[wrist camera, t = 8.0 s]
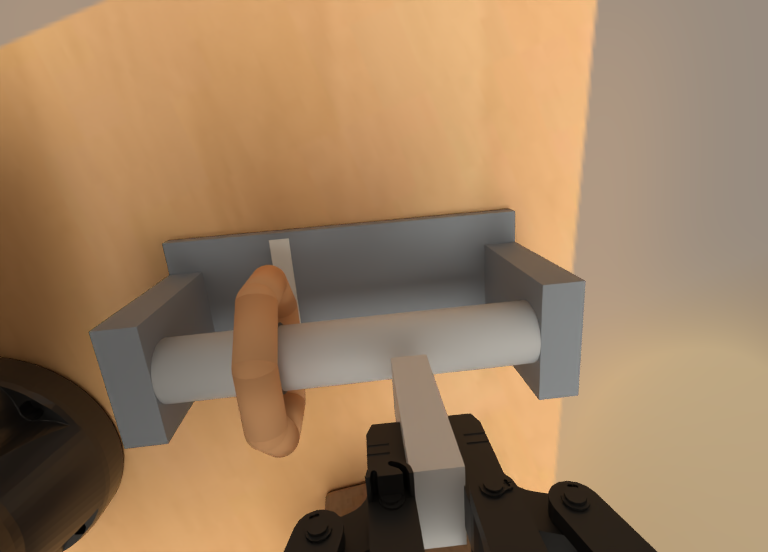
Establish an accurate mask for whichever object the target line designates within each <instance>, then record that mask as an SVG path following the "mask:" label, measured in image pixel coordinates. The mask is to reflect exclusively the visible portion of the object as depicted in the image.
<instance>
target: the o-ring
mask: <svg viewBox="0 0 768 552" xmlns="http://www.w3.org/2000/svg"><path fill="white" fill-rule="evenodd" d="M279 322H281V323H282V324H283V325H289V324H299V323H300V320H299V313H298V306H297V301H296V299H295V296H294V294H293V292H292V289H291V287H290V285H289V282H288V280H287V278H286V275H285V274H284V272H283V271H282V270H281V269H280V268H278V267H276V266H273V265H264V266H261V267H259V268H257V269H256V270H255V271H254V272H253V274H252V275H251V276H250V277H249V279H248V280H247V281H246V283H245V284H244V285H243V287H242V288H241V289H240V290H239V292H238V294H237V296H236V299H235V313H234V330H233V347H232V365H231V370H232V377H233V382H234V387H235V392H236V397H237V401H238V406H239V411H240V416H241V421H242V425H243V430H244V435H245V438H246V440H247V442H248V444H249V445H250V446H251V447H253V448H254V449H256V450H259V451H261V452H264V453H266V454H268V455H271V456H273V457H285V456H287V455H289V454H291V453H292V452H293V451H294V450H295V449H296V447H297V445H298V443H299V439H300V433H301V427H302V421H303V415H304V409H305V389H299V390H290V391H287V393H286V394H283V393H282V387H281V381H280V375H279V369H278V323H279Z"/></svg>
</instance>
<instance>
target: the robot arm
mask: <svg viewBox="0 0 768 552" xmlns="http://www.w3.org/2000/svg"><path fill="white" fill-rule="evenodd" d="M391 369H392V382H393V395H394V408H395V417H396V422H394V423H384V424H375V425H371V427H370V429H369V431H368V433H367V435H366V438H367V464H368V470H367V472H366V476H365V481H366V490H367V497H366V500H365V501H364V502H363V504H362V505H361V506H360V507H358V508H357V509H356V510H354V511H352V512H351V513H349V514H346V515H344V516H341V517H340V516H339V515H337V514H336V513H335V512H333V511H329V510H316V511H313V512H311V513H308V514H306V515H305V516H304V517H303V518H301V519H300V520H299V521H298V523H297V524H296V526H295V527H294V529H293V532H292V534H291V536H290V539H289V541H288V543H287V546H286V548H285V550H284V552H425V549H431V548H440V547H449V546H457V545H466V544H467V535H468V539H469V542H470V546H471V552H657V551H656V550H655V549H654V548H653V547H652V546H650V544H649V543H647V542H646V541H645V540H644V539H643V538H642V537H641V536H640V535H639V534H638V533H637V532H636V531H635V530H634V529H633V528H632V527H631V526H630V525H629V524H628V523H627V522H626V521H625V520H624V519H623V518H621V517H620V516H619V515H618V514H617V513H616V512H615V511H614V510H613V509H612V508H611V507H610V506H609V505H608V504H607V503H606V502H605V501H604V500H603V499H602V498H601V497H599V495H598V494H596V493H595V492H594V491H593V490H591V489H590V488H589V487H587V486H585V485H582V484H580V483H577V482H571V481H564V482H558V483H556V484H554V485H553V486H552V487H551V488H550V490H549V493H548V494H547V493H540V492H533V491H529V490H525V489H523V488H520V487H518V486H517V485H516V484H515V482H514V481H513V480H512V479H511V478H510V477H508V476H507V475H505V474H504V473H503V470H502V468H501V466H500V464H499V462H498V460H497V457H496V455H495V453H494V451H493V449H492V446H491V444H490V443H489V440H488V438H487V436H486V434H485V431H484V429H483V427H482V425H481V422H480V421H479V420H477V419H476V418H475V417H474V416H473V415H472V414H461V415H451V416H447V413H446V410H445V407H444V404H443V401H442V399H441V396H440V393H439V390H438V387H437V384H436V381H435V378H434V375H433V373H432V370H431V367H430V364H429V361H428V358H427V355H426V354H424V355H414V356H404V357H394V358H391ZM122 472H123V453H122V447H121V443H120V440H119V437H118V434H117V432H116V430H115V428H114V426H113V424H112V422H111V421H110V419H109V418H108V416H107V415H106V413H105V412H104V411H103V409H102V408H101V407H100V406H99V405H98V404H97V402H95V401H94V400H93V399H92V398H91V397H90V396H89V395H88V394H87V393H86V392H85V391H83V390H82V389H81V388H79V387H78V386H77V385H75V384H74V383H72V382H71V381H69V380H67V379H66V378H64V377H62V376H60V375H58V374H56V373H54V372H52V371H50V370H47V369H45V368H42V367H40V366H37V365H34V364H30V363H27V362H23V361H19V360H13V359H8V358H0V552H63V551H65V550H66V549H68V548H69V547H71V546H72V545H73V544H75V543H76V542H77V541H78V540H79V539H81V538H82V537H83V536H84V535H85V534H86V533H87V532H88V531H89V530H90V529H91V528H92V527H93V525H94V524H95V523H96V522H97V520H98V519H99V517H100V516H101V514H102V513H103V512H104V510H105V509H106V507H107V506H108V504H109V503H110V501H111V500H112V498H113V497H114V495H115V493H116V491H117V489H118V487H119V484H120V481H121V477H122Z"/></svg>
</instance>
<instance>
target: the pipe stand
mask: <svg viewBox="0 0 768 552" xmlns="http://www.w3.org/2000/svg"><path fill="white" fill-rule="evenodd" d="M162 245H163V250H164V254H165V258H166V262H167V266H168V271H169V276H167V277H166V278H165V279H163V280H162V281H160V282H159V283H158V284H156V285H155V286H153V287H152V288H150V289H149V290H148V291H146V292H145V293H143V294H142V295H140V296H139V297H138V298H136V299H135V300H133V301H132V302H130V303H129V304H128V305H126V306H125V307H123V308H122V309H121V310H119V311H118V312H116V313H115V314H113V315H112V316H111V317H109V318H108V319H106V320H105V321H103V322H102V323H101V324H99V325H98V326H96V327H95V328H93V329H92V330H91V331H89V335H90V338H91V341H92V344H93V348H94V351H95V354H96V357H97V361H98V364H99V367H100V370H101V374H102V377H103V380H104V383H105V387H106V390H107V393H108V396H109V400H110V403H111V406H112V409H113V413H114V416H115V419H116V422H117V426H118V429H119V432H120V435H121V439H122V442H123V445H124V448H125V449H127V448H135V447H144V446H152V445H161V444H168V443H169V441H170V440H171V438H172V437H173V435H174V433H175V432H176V430H177V428H178V427H179V425H180V423H181V422H182V420H183V419H184V417H185V415H186V414H187V412H188V410H189V409H190V407H191V405H192V404H193V402H194V401H201V400H210V399H219V398H228V397H236V392H235V387H234V382H233V377H232V370H231V365H232V347H233V330H234V313H235V299H236V296H237V294H238V292H239V290H240V289H241V288H242V287H243V285H244V284H245V283H246V281H247V280H248V279H249V277H250V276H251V275H252V274H253V272H254V271H255V270H256V269H257V268H259V267H261V266H264V265H273V266H276V267H278V268H280V269H281V270H282V271H283V272H284V274H285V275H286V278H287V280H288V282H289V285H290V287H291V289H292V292H293V294H294V296H295V299H296V301H297V306H298V313H299V320H300V323H299V324H289V325H283V324H282V323H281V322H279V323H278V369H279V375H280V381H281V387H282V393H283V394H286V393H287V391H290V390H299V389H308V388H316V387H325V386H334V385H343V384H352V383H361V382H370V381H379V380H387V379H392V369H391V358H394V357H404V356H414V355H424V354H426V355H427V358H428V361H429V364H430V367H431V370H432V373H433V374H441V373H449V372H458V371H467V370H476V369H485V368H494V367H503V366H512V365H513V366H514V368H515V369H516V370H517V372H518V373H519V374H520V376H521V377H522V378H523V379H524V381H525V382H526V383H527V385H528V386H529V387H530V389H531V390H532V391H533V393H534V394H535V395H536V396H537V398H538V399H539V400H543V399H551V398H560V397H568V396H577V395H578V389H579V374H580V359H581V342H582V328H583V312H584V311H583V310H584V295H585V280H583V279H581V278H579V277H577V276H576V275H574V274H572V273H570V272H568V271H567V270H565V269H563V268H561V267H559V266H558V265H556V264H554V263H552V262H550V261H549V260H547V259H545V258H543V257H541V256H540V255H538V254H536V253H534V252H532V251H530V250H529V249H527V248H525V247H523V246H521V245H520V244H518V243H516V242H515V211H513V210H511V209H504V210H493V211H482V212H471V213H460V214H450V215H439V216H428V217H417V218H406V219H395V220H384V221H374V222H363V223H352V224H341V225H330V226H319V227H308V228H297V229H287V230H276V231H265V232H254V233H243V234H232V235H221V236H211V237H200V238H189V239H178V240H168V241H166V242H164V243H163V244H162Z"/></svg>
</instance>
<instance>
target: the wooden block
mask: <svg viewBox="0 0 768 552" xmlns="http://www.w3.org/2000/svg"><path fill="white" fill-rule="evenodd" d="M366 497H367V490H366V483H364V484H360V485H356V486H352V487H348V488H344V489H340V490H336V491H332V492H330V493H328V494H327V496H326V503H325V510H329V511H333V512H335V513H336V514H337V515H339V516H340V517H341V516H344V515H346V514H349V513H351V512H352V511H354V510H356V509H357V508H358V507H360V506H361V505H362V504H363V502H364V501H365V500H366ZM425 552H471V546H470V542H469V539H468V535H467V544H466V545H457V546H449V547H440V548H431V549H425Z"/></svg>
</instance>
